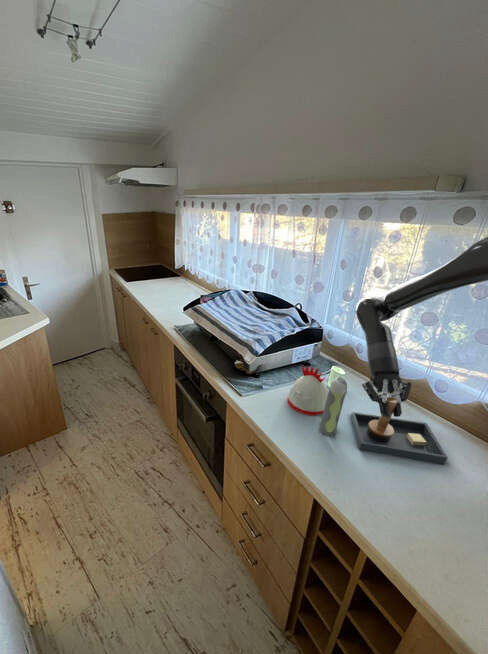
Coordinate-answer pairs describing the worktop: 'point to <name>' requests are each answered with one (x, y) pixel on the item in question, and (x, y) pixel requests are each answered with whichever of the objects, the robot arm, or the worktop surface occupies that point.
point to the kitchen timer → (308, 393)
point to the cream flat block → (416, 439)
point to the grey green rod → (333, 407)
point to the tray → (399, 439)
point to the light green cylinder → (335, 374)
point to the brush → (382, 424)
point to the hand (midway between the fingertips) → (391, 416)
